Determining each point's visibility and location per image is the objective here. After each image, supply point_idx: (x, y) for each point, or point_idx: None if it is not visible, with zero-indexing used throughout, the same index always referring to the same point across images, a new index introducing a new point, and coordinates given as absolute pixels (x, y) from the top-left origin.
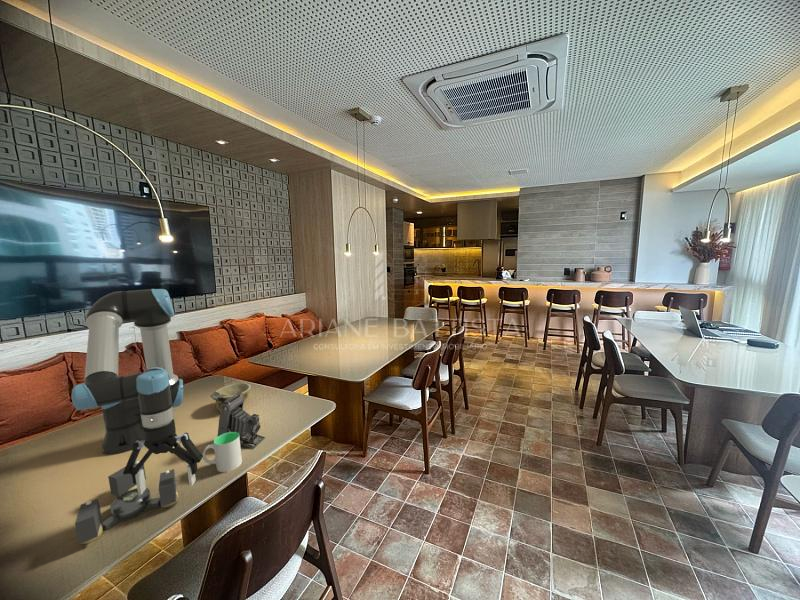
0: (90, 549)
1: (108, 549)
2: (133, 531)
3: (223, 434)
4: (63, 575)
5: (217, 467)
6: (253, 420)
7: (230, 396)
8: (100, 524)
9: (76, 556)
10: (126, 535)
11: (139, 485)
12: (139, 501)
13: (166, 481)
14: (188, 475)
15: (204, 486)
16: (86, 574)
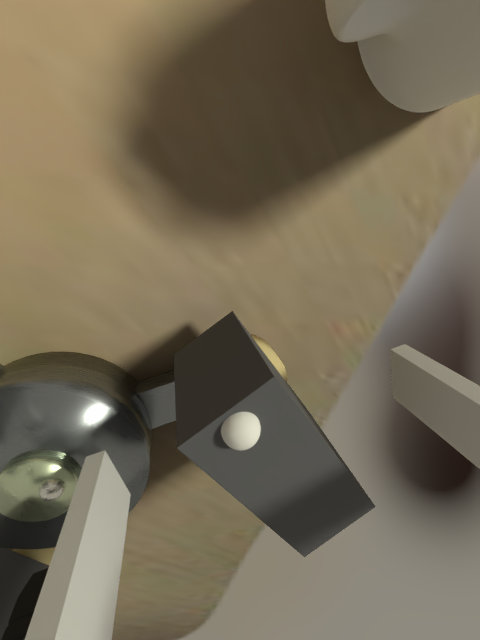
0: None
1: (183, 557)
2: (206, 501)
3: None
4: (130, 625)
5: (393, 76)
6: None
7: None
8: (48, 563)
9: None
10: (195, 516)
11: (118, 578)
12: (138, 483)
13: (316, 505)
14: (464, 453)
15: (354, 254)
16: (198, 605)
